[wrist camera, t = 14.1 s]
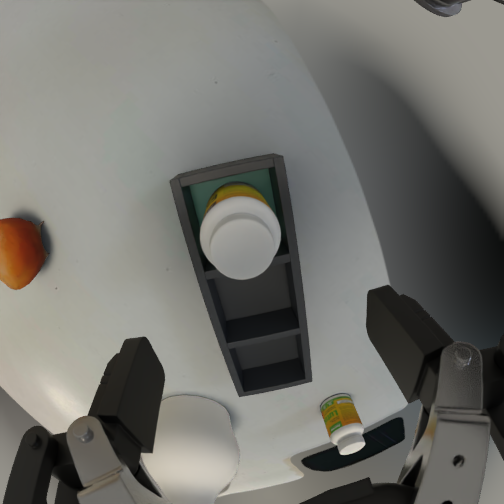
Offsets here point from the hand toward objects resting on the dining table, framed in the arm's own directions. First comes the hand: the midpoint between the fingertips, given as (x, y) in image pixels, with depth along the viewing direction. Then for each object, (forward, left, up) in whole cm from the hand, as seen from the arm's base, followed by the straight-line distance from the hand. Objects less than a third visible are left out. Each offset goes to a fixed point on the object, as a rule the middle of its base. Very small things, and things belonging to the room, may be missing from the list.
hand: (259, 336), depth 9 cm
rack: (0, +8, -19) cm, 21 cm away
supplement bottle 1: (0, 0, -18) cm, 18 cm away
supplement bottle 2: (-9, +34, -19) cm, 40 cm away
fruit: (+25, -3, -19) cm, 32 cm away
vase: (+14, +30, -19) cm, 38 cm away
